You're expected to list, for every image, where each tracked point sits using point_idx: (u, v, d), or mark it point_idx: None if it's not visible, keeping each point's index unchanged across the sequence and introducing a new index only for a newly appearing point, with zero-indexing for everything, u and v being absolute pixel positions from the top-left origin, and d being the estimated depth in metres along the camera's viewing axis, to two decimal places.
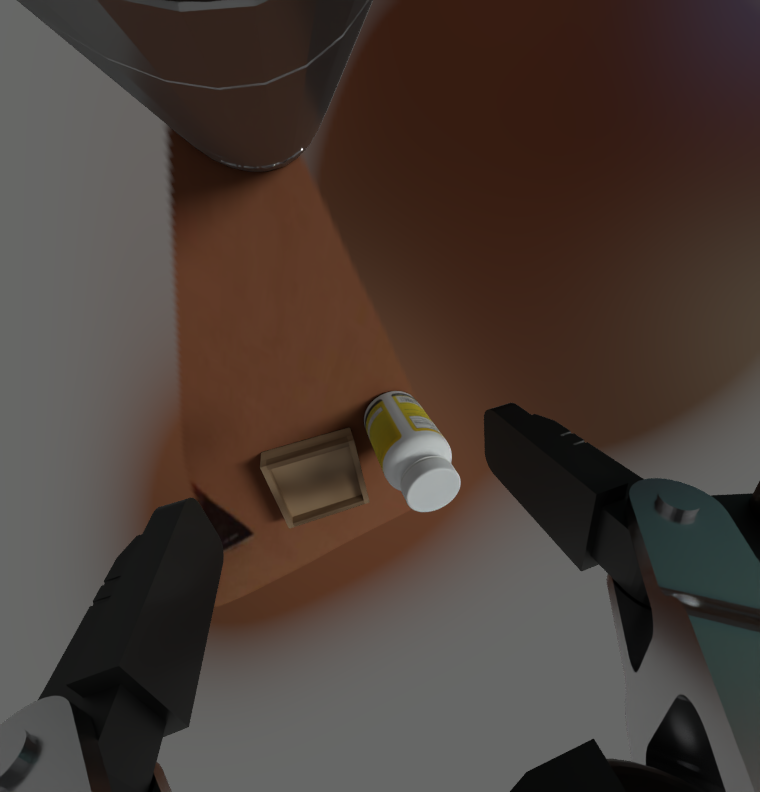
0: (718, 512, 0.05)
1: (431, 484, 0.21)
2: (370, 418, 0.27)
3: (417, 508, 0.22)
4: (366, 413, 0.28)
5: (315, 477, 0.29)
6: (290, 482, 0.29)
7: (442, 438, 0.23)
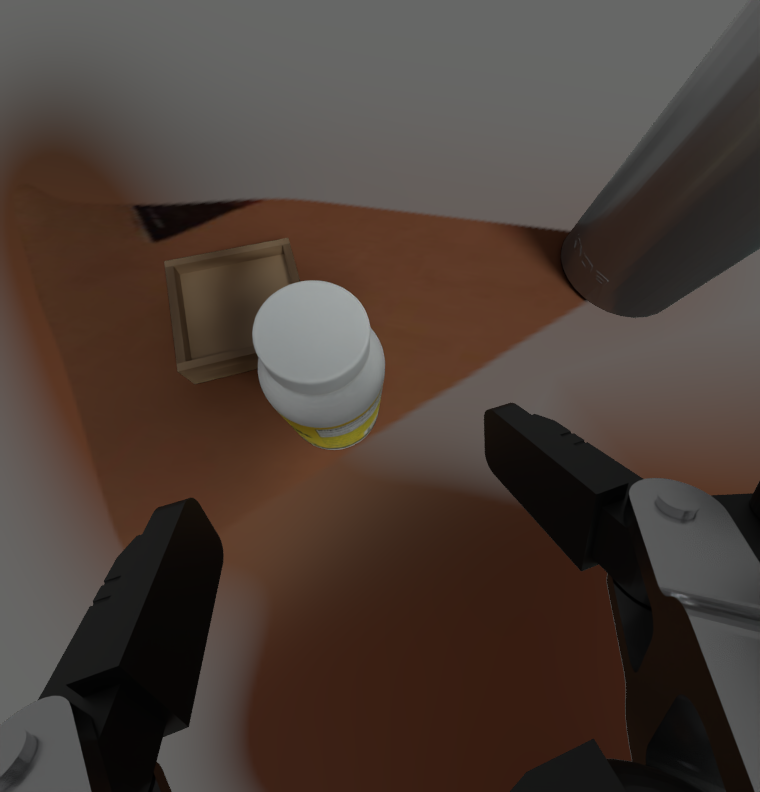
0: (718, 512, 0.05)
1: (331, 319, 0.11)
2: None
3: (271, 302, 0.11)
4: None
5: (249, 302, 0.21)
6: (248, 274, 0.21)
7: (374, 396, 0.13)
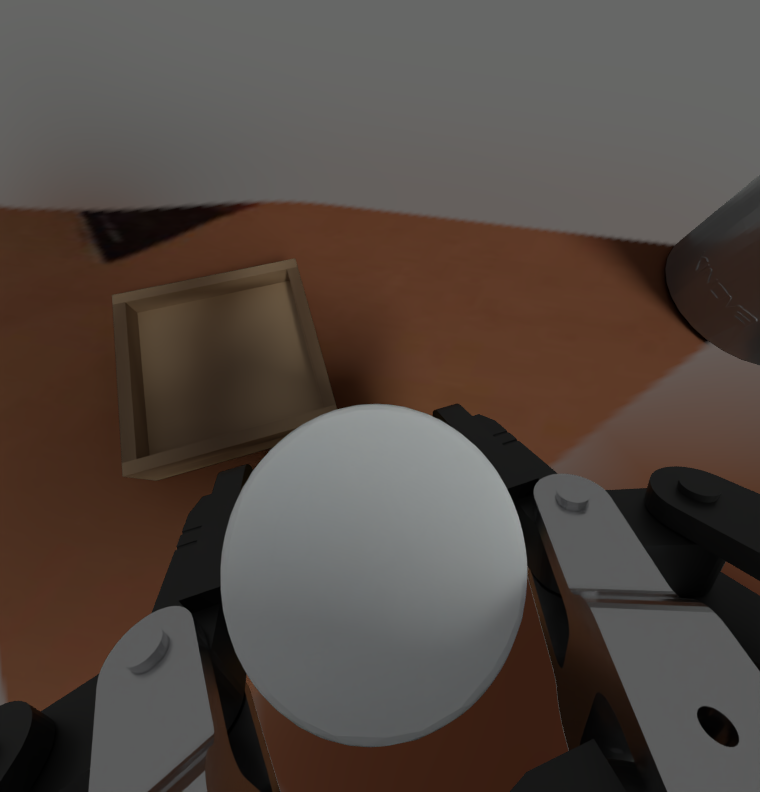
0: (605, 504, 0.05)
1: (428, 519, 0.04)
2: None
3: (270, 473, 0.04)
4: None
5: (238, 354, 0.14)
6: (237, 311, 0.15)
7: None
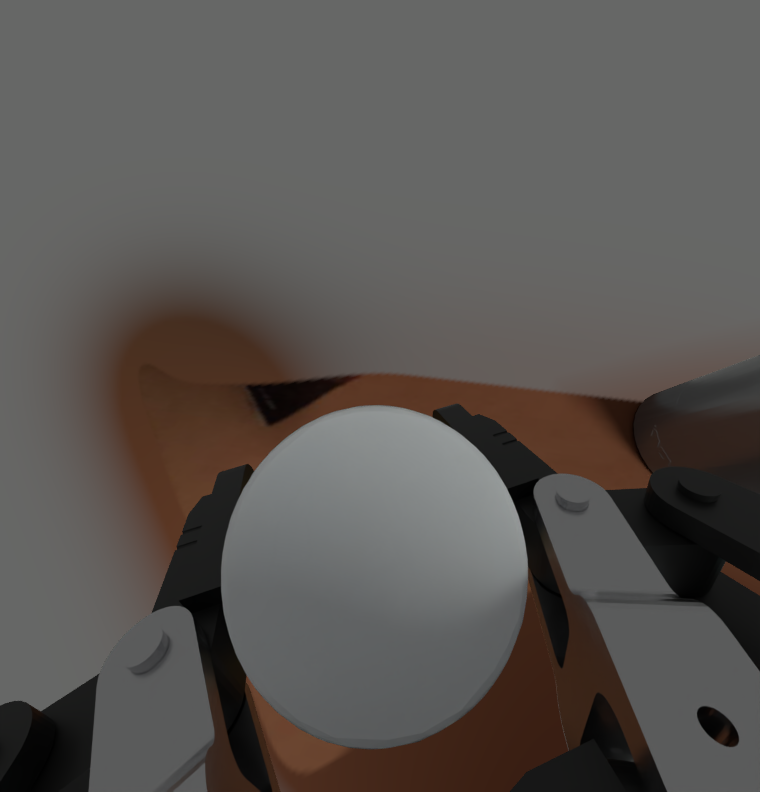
0: (605, 504, 0.05)
1: (428, 521, 0.04)
2: None
3: (271, 475, 0.04)
4: None
5: None
6: None
7: None
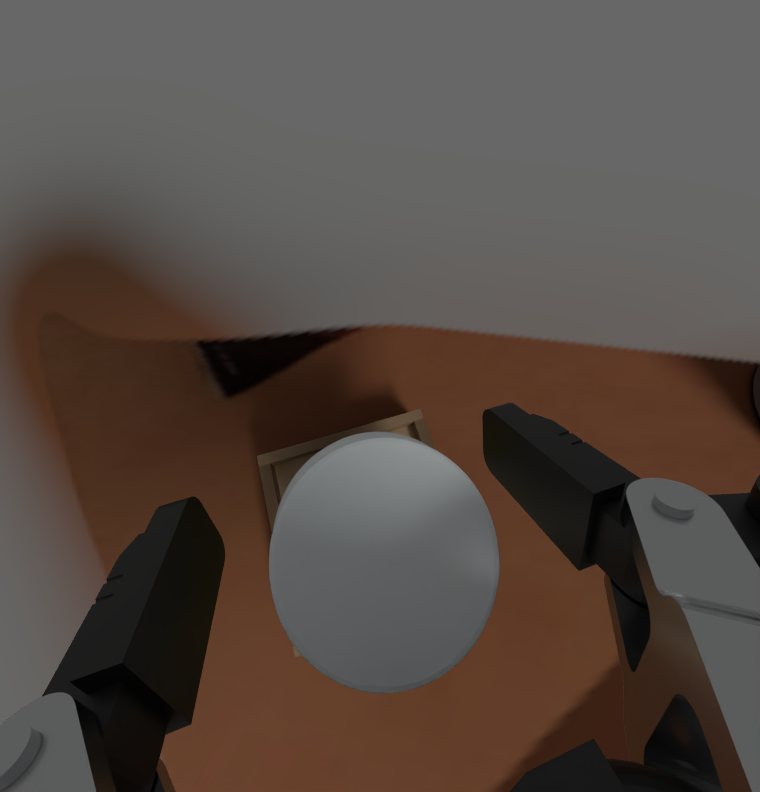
0: (714, 512, 0.05)
1: (424, 527, 0.06)
2: None
3: (304, 492, 0.06)
4: None
5: None
6: None
7: None
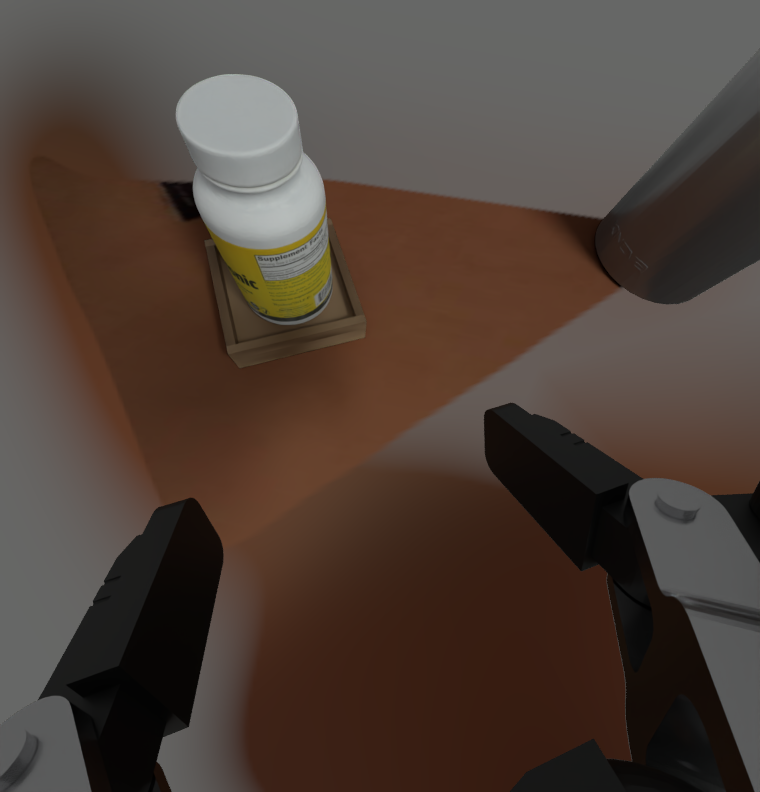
0: (718, 512, 0.05)
1: (258, 106, 0.11)
2: None
3: (196, 88, 0.11)
4: None
5: None
6: None
7: (312, 219, 0.13)
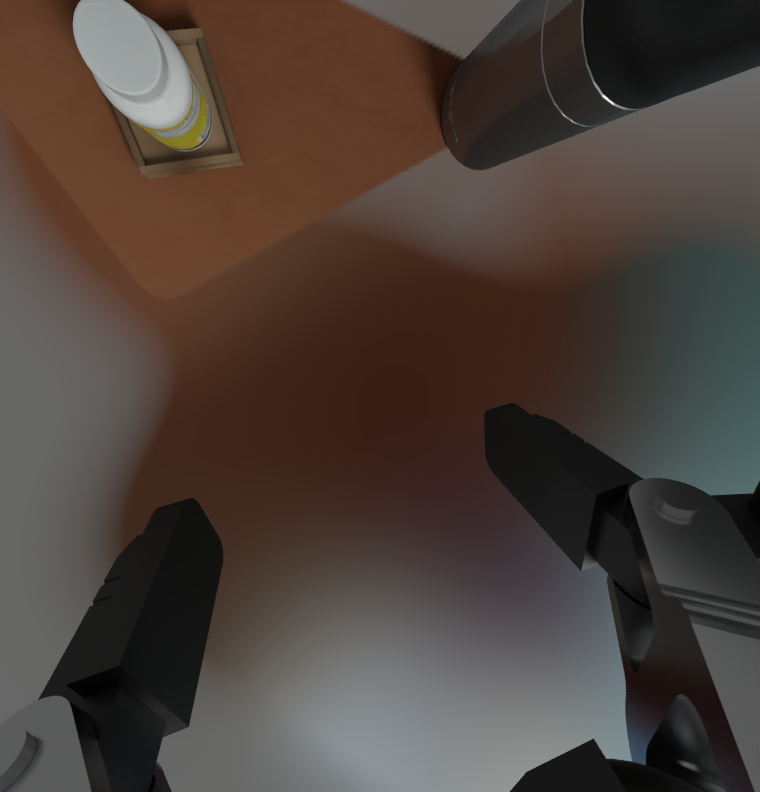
0: (718, 512, 0.05)
1: (131, 40, 0.17)
2: None
3: (80, 12, 0.16)
4: None
5: None
6: None
7: (184, 109, 0.21)
